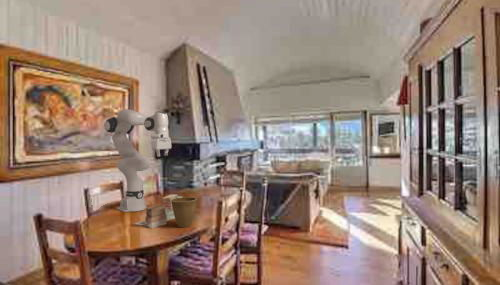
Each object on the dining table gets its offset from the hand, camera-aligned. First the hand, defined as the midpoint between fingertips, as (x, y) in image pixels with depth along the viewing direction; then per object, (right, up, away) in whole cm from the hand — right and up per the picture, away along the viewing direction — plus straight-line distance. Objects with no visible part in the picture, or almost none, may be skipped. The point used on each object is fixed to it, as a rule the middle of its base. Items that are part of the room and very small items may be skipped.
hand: (162, 156), depth 215 cm
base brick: (+2, -41, -22) cm, 46 cm away
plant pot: (+20, -41, -24) cm, 51 cm away
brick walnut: (+2, -35, -22) cm, 41 cm away
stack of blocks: (+4, -41, +13) cm, 43 cm away
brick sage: (+5, -41, -7) cm, 42 cm away
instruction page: (-7, -41, -16) cm, 45 cm away
